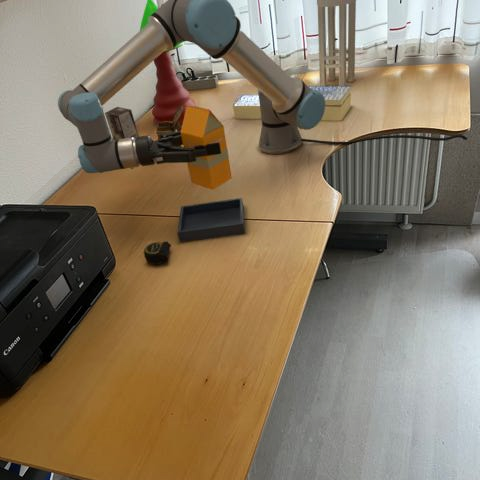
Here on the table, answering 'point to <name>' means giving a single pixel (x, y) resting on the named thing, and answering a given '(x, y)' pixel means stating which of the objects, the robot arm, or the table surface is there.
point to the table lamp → (166, 82)
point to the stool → (330, 2)
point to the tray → (211, 220)
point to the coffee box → (121, 123)
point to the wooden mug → (170, 124)
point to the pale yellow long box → (334, 96)
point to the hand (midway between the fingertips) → (220, 139)
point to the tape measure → (157, 252)
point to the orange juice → (202, 133)
